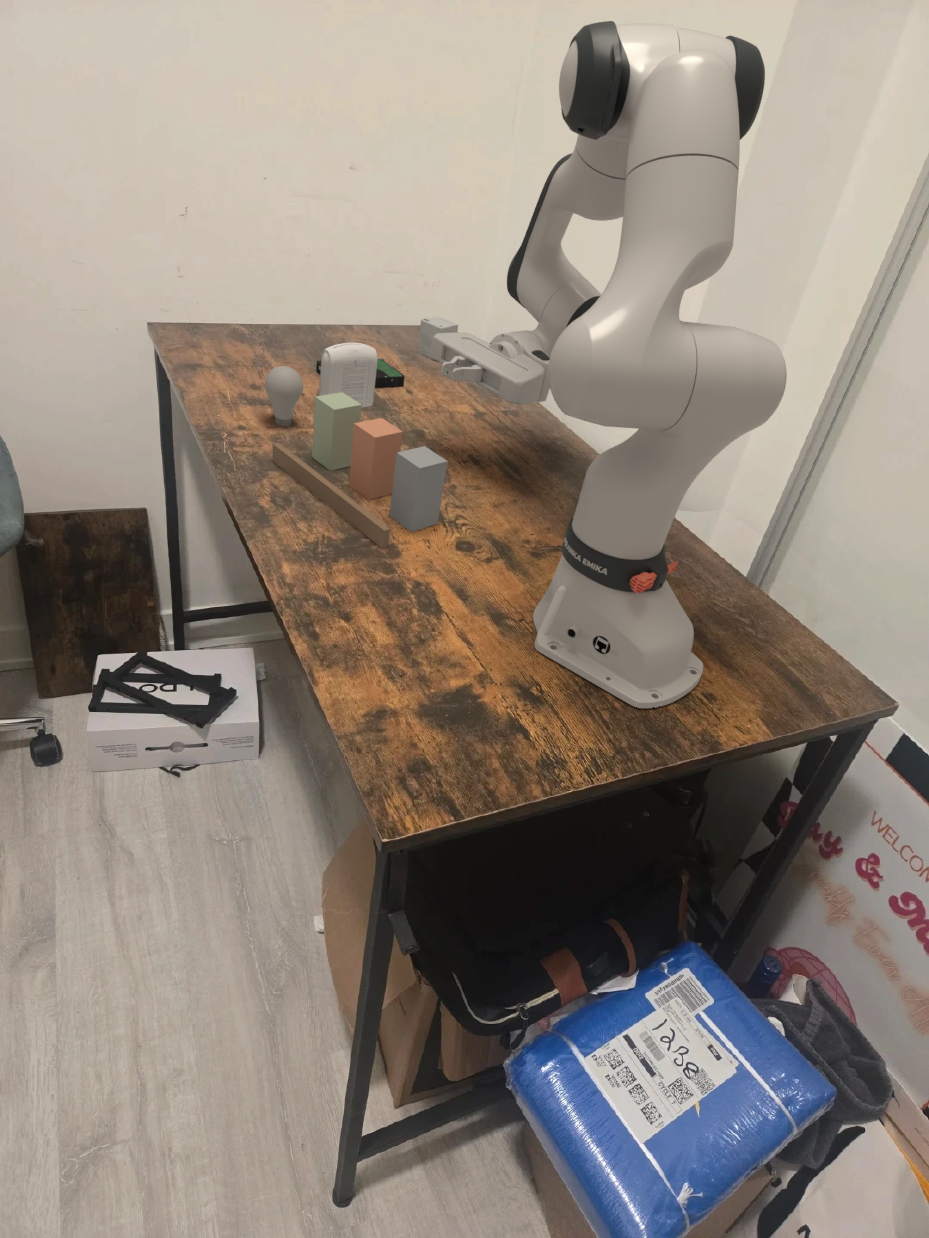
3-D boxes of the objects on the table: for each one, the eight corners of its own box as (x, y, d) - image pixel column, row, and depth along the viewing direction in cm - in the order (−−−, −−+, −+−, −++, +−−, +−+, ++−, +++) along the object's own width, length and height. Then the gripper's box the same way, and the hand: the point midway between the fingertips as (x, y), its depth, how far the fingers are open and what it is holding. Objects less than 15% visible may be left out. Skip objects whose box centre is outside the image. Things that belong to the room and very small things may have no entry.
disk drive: (336, 394, 151) (404, 388, 159) (337, 380, 150) (406, 375, 157) (314, 373, 158) (381, 369, 165) (315, 360, 156) (382, 356, 163)
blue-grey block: (437, 523, 114) (447, 461, 108) (410, 532, 111) (419, 468, 105) (415, 508, 117) (424, 446, 111) (389, 515, 114) (396, 452, 108)
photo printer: (365, 404, 148) (371, 338, 141) (375, 413, 146) (382, 346, 138) (314, 408, 143) (318, 340, 136) (324, 418, 140) (329, 349, 133)
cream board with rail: (475, 526, 118) (480, 501, 116) (373, 559, 107) (376, 533, 104) (364, 448, 133) (366, 425, 131) (264, 470, 122) (265, 445, 119)
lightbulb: (287, 420, 137) (289, 358, 131) (308, 434, 134) (311, 371, 127) (257, 426, 133) (257, 363, 127) (277, 441, 130) (279, 376, 124)
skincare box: (454, 357, 177) (459, 324, 173) (436, 362, 173) (441, 328, 169) (434, 348, 180) (439, 315, 175) (416, 352, 176) (420, 319, 171)
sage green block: (356, 464, 125) (361, 404, 119) (330, 470, 122) (334, 409, 116) (338, 451, 128) (342, 392, 122) (311, 457, 125) (315, 396, 119)
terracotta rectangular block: (395, 493, 120) (402, 431, 114) (368, 500, 117) (374, 437, 111) (375, 478, 122) (381, 418, 116) (348, 485, 119) (353, 423, 113)
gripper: (472, 319, 129) (406, 326, 121) (562, 366, 118) (497, 378, 110) (466, 356, 133) (401, 366, 125) (553, 405, 122) (489, 420, 114)
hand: (447, 372), depth 117 cm, fingers closed
